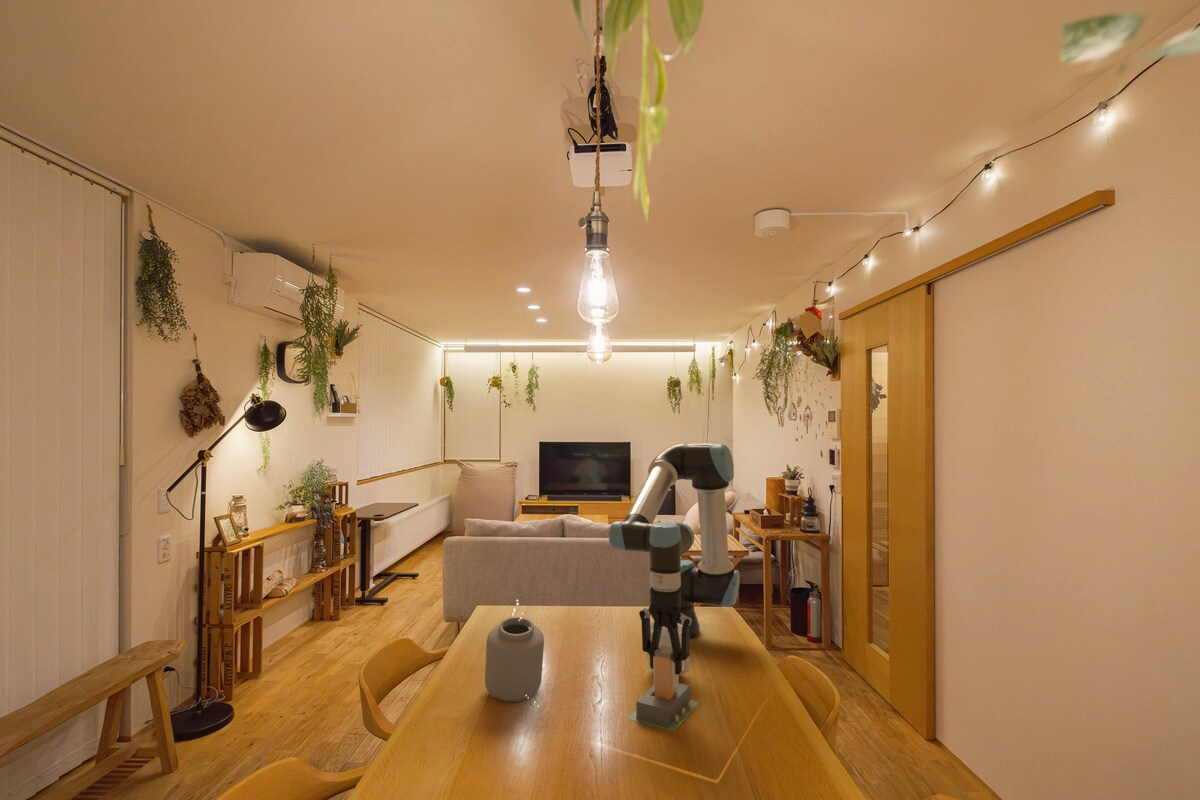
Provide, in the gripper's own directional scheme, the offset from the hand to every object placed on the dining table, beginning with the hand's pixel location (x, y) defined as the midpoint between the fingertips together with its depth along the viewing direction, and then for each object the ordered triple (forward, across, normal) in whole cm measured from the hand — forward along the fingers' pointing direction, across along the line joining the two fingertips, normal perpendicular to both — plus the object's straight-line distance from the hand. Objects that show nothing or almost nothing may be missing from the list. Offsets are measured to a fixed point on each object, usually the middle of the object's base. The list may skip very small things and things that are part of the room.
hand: (665, 684), depth 140 cm
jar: (+7, -38, -11) cm, 40 cm away
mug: (+7, -8, +19) cm, 22 cm away
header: (+7, 0, 0) cm, 7 cm away
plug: (+6, 0, 0) cm, 6 cm away
